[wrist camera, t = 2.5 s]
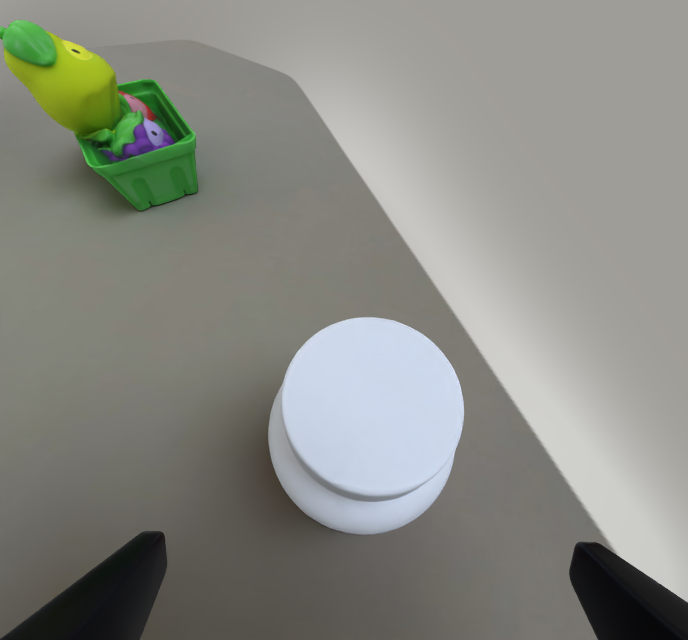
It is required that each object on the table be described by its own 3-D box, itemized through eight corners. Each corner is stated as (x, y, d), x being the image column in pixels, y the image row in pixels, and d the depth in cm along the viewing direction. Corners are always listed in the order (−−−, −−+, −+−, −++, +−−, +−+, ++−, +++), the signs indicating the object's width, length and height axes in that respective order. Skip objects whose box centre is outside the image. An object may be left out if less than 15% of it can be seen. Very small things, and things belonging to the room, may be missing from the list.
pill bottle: (266, 483, 17) (189, 425, 8) (332, 387, 20) (335, 262, 11) (370, 563, 15) (431, 613, 6) (426, 446, 18) (526, 360, 9)
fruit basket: (218, 195, 29) (164, 32, 20) (111, 232, 26) (-13, 61, 17) (175, 134, 34) (115, -21, 24) (81, 159, 31) (-28, -5, 22)
